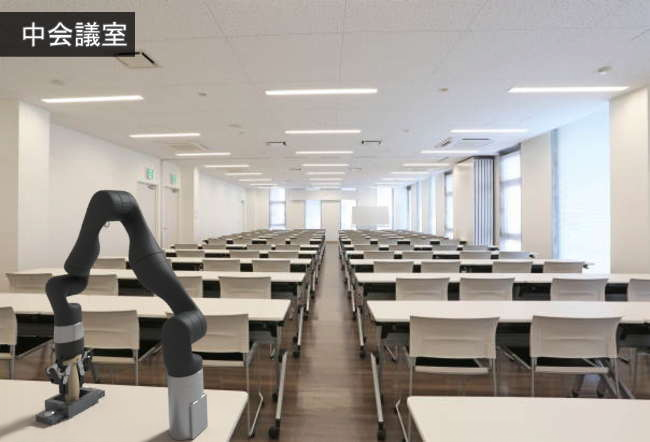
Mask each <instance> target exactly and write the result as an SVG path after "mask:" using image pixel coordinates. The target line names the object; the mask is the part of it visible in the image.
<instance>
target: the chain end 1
mask: <svg viewBox="0 0 650 442" xmlns="http://www.w3.org/2000/svg"><path fill="white" fill-rule="evenodd" d="M72 418H74V417H73V407H72V404H70V403H66V400H65V395H61V394H60V393H59V392H58V393H57V394H55V395H53V396H51V397H48V398H47V399H45V400H44V410H43V411H41V412H39V413H38V414H37V413H36V415H35V422H37V423H42V424H45V425H49V426H53V425H56V424H57V423H59V422H61V421H63V420H64V419H66V420H70V419H72Z"/></svg>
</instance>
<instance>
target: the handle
mask: <svg viewBox="0 0 650 442" xmlns="http://www.w3.org/2000/svg"><path fill="white" fill-rule="evenodd" d="M80 357H82V355H81V354H80V355H78V356H75V357H73V358H70V359H68V360H65V361H63V365H64V366H67V365H70V364H72V366H71V370H70V374H69V375H68V379H67V382H66V383H67V384H68V394H67V395H65V400H66V403H71V402H73V401H75V400H77V399H79V378H78V370H77V362H78V361H79V360H80ZM64 372H65V371H64Z"/></svg>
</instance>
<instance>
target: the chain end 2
mask: <svg viewBox="0 0 650 442" xmlns="http://www.w3.org/2000/svg"><path fill="white" fill-rule="evenodd" d="M105 396H106V391H105V390H104V389H99V388H96V387H91V386H89V387H84V386H82V387H81V388H79V399H77V400H75V401H73V402H71V403H70V404H72V407H73V417H72V418H74V417H75V416H77V415H79V414H81V413H82V412H84V411H86V410H88V409H90V408H91V407H93V406H95V405H96V404H99V402H100V401H99V400H100V399H102V398H103V397H105Z"/></svg>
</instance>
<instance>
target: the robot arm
mask: <svg viewBox="0 0 650 442" xmlns="http://www.w3.org/2000/svg"><path fill="white" fill-rule="evenodd" d="M107 222H119V223H121V225H122V226H123V228H124V230H125V232H126V234H127V236H128V240H129V242H128V243H129V244H128V252H127V253H128V257H127V258H128V265H129V266H130V268H131V270H132V272H133V274H134V276H135V277H136V279H137V280H138V282H139V283H140V284H141V285H142V287H144V288H145V289H147V291H149V292H151V293H152V294H154V295H155V296H157V297H158V298H159V299H161V300H163V301H164V302H165V303H166V305H167V306H168V307H169V309H170V310H171V312H172V314H173V316H171V317H168V318H167V319H166V320H165V321H164V323H163V324H162V327H161V347H162V355H163V356H162V357H163V363H164V364H165V367H166V371H167V374H166V375H167V395H168V396H167V398H168V399H167V401H168V402H167V403H168V421H169V422H168V424H169V437H170V438H171V439H173V440H175V441H185V440H194V439H195V438H196V437H198V436H199V435H200V433H202V432H203V431H204V430H205V429H206V428H207V427H208V426H209V425H208V424H209V423H208V422H209V421H208V396H207V393H205V392H204V364H203V363H204V362H203V357H202V356H201V355H199V354H197V353H193V347H192V345H193V344H195V343H196V342H198V341H200V340H202V339H203V337H205V336H206V334H207V332H208V322H207V320H206V316H205V315H204V314H203V312H202V310H201V309H200V308H199V306H198V305H197V304H196V302H195V301H194V300H193V298H192V297H191V296H190V295H189V293H188V292H187V290H186V288H185V287H184V286H183V284H182V282H181V280H180V279H179V277H178V276H177V274H176V273H175V271H174V269H173V267H172V266H171V263H170V262H169V260H168V258H167V256H166V255H165V253H164V251H163V250H162V248H161V247H160V245H159V243H158V241H157V239H156V238H155V236H154V234H153V232H152V231H151V229H150V227H149V225H148V223H147V221H146V218H145V216H144V213H143V212H142V209H141V208H140V205H139V203H138V201H137V199H136V198H135V196H134V195H133V194H132V193H131V192H129V191H127V190H115V189H101V190H97V191H95V193H93V194H92V196H91V198H90V199H89V203H88V205H87V207H86V210H85V213H84V217H83V219H82V224H81V227H80V230H79V233H78V236H77V239H76V241H75V243H74V246H73V247H72V249H71V251H70V252H69V254H68V256H67V257H66V260H65V261H64V264H63V269H64V271H65V272H66V274H59V275H54V276H52V277H50V278H49V279H48V280H47V281H46V283H45V287H44V291H45V295H46V297H47V300H48V301H49V304H50V306H51V310H52V312H53V321H54V324H53V325H54V326H53V328H54V329H53V341H54V342H53V343H54V345H53V346H54V355H55V361H54V364H52V365H51V366H47V367H45V369H44V371H45V374H46V376H47V377H48V379H49V381H50V383H51V384H53V385H58V394H59V393H60V394H61V395H67V394H68V384H67V383H66V382H67V379H68V375H69V374H70V370H71V366H72V364H70V365H67V366H64V365H63V361H65V360H68V359H70V358H73V357H75V356H78V355H80V354H81V355H82V357H80V360H79V361H78V362H77V370H78V378H79V388H81V387H84V386H83V385H84V383H85V379H84V376H85V373H86V372H89V371H90V369H91V366H92V362H93V357H94V351H91V350H86V351H85V350H84V349H85V332H84V331H85V329H84V323H83V312H82V311H83V310H82V305H81V304H80V303H78V302H68V299H67V298H68V297H72V296H77V295H79V294H81V293H83V292H84V291H85V290H86V289H87V287H88V284H89V279H90V275H91V270H92V268H93V267H94V265H95V263H96V262H97V260H98V258H99V256H100V252H101V243H100V242H101V241H100V237H99V236H100V232H101V230H102V229H103V227H104V226H105V225H106V224H107ZM64 371H65V372H64ZM57 372H58V373H57Z"/></svg>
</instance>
